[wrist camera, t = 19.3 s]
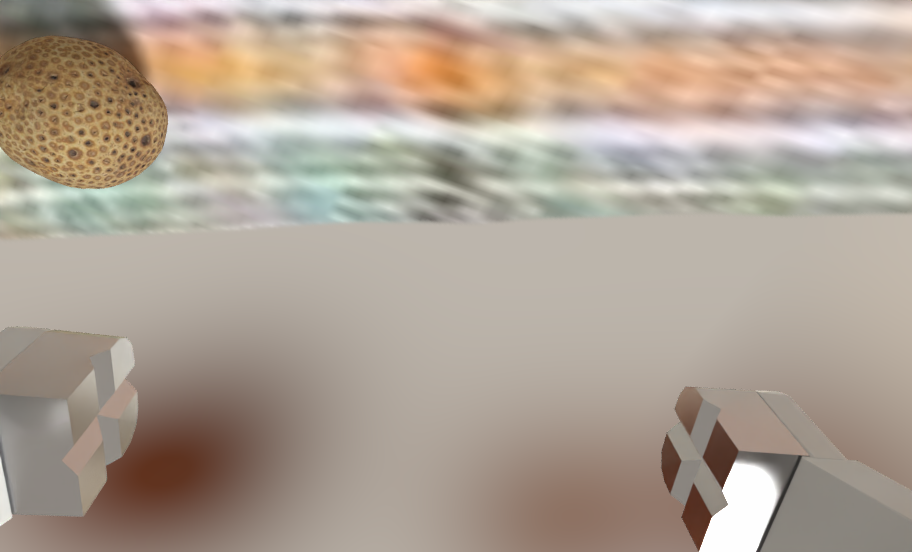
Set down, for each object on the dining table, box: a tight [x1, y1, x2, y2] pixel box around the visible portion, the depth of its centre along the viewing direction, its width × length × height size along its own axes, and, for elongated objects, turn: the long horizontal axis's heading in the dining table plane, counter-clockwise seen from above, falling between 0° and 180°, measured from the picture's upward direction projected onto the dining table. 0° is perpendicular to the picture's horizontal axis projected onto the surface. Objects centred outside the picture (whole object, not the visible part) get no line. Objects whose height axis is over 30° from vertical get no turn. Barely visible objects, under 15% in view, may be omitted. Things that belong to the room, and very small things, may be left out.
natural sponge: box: [0, 36, 168, 189], centre depth 38 cm, size 9×9×10 cm
